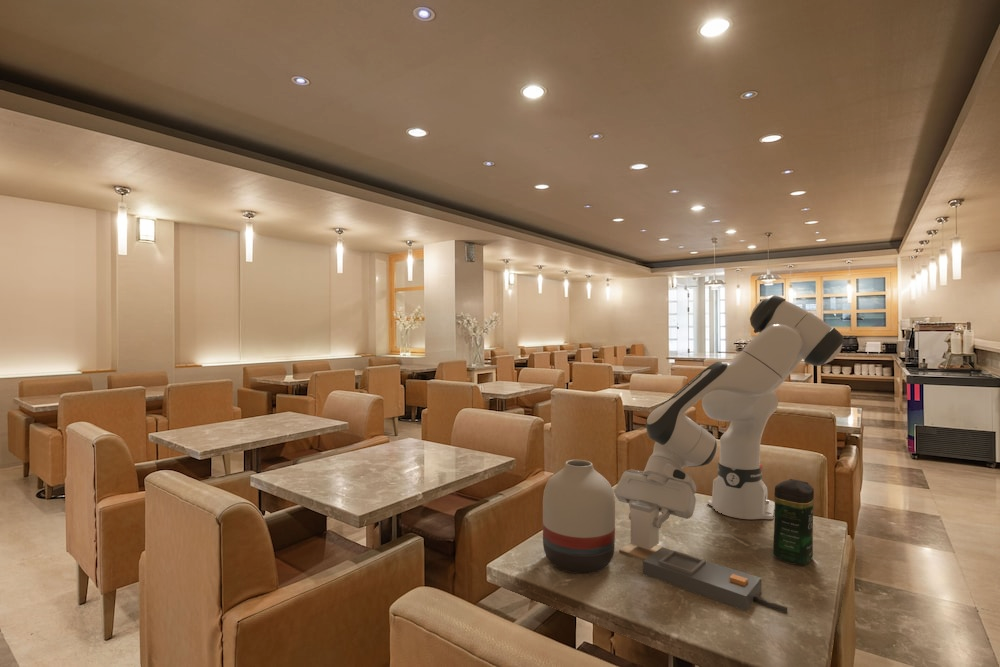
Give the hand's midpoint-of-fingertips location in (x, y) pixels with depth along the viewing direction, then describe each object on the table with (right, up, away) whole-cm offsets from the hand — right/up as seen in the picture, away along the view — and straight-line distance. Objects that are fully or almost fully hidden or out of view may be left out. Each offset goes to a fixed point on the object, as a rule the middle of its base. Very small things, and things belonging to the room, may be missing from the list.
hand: (643, 523), depth 125 cm
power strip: (+10, -8, -17) cm, 21 cm away
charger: (0, -5, 0) cm, 5 cm away
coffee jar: (+36, -8, -2) cm, 37 cm away
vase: (-17, -8, -5) cm, 19 cm away
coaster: (0, -7, 0) cm, 7 cm away
